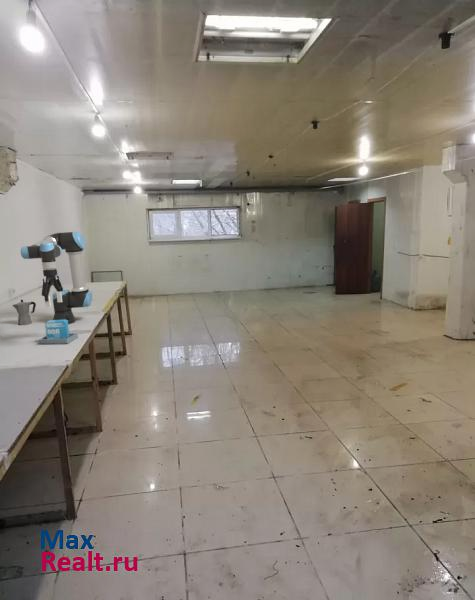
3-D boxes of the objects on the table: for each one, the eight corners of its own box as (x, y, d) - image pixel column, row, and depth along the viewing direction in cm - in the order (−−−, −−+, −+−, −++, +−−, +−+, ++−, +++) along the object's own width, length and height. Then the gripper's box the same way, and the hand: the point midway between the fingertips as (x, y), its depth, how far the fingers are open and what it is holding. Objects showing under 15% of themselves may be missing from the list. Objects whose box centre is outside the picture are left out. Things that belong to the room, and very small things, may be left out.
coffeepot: (15, 326, 302) (11, 301, 299) (14, 324, 310) (11, 300, 307) (39, 323, 310) (35, 298, 307) (37, 320, 318) (34, 297, 315)
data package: (47, 341, 253) (44, 322, 251) (49, 339, 258) (46, 320, 255) (68, 340, 255) (65, 320, 252) (69, 338, 259) (67, 319, 257)
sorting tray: (50, 338, 264) (50, 333, 263) (77, 337, 262) (77, 333, 261) (38, 344, 250) (38, 339, 250) (67, 344, 249) (66, 339, 248)
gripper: (54, 266, 261) (58, 300, 265) (31, 271, 236) (36, 309, 240) (66, 266, 260) (70, 300, 264) (44, 271, 236) (49, 308, 240)
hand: (54, 304), depth 252 cm, fingers open, 13 cm apart
